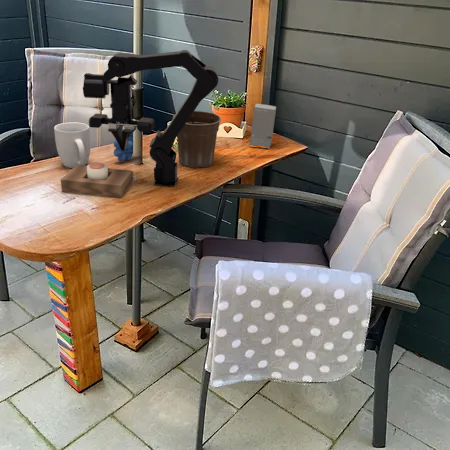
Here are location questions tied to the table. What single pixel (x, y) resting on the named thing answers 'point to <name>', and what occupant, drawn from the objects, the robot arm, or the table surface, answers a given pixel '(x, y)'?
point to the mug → (73, 143)
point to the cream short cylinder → (97, 171)
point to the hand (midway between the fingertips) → (123, 150)
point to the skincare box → (262, 125)
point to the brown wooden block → (97, 182)
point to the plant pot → (198, 139)
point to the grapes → (127, 152)
